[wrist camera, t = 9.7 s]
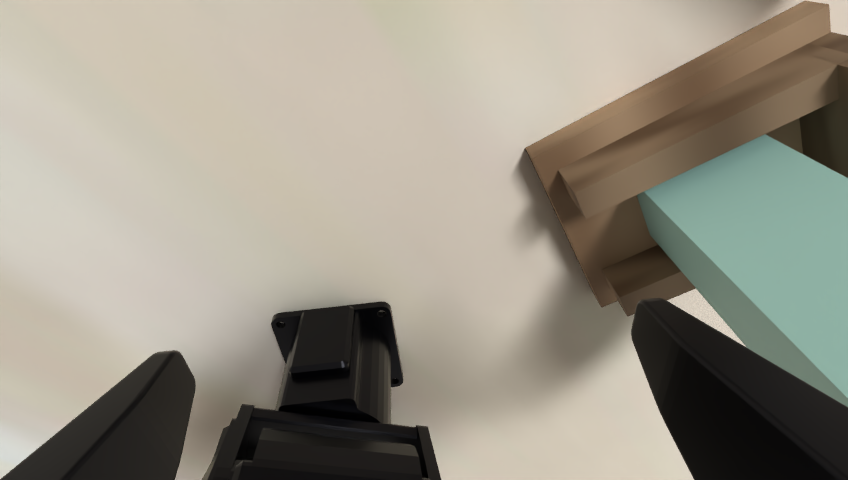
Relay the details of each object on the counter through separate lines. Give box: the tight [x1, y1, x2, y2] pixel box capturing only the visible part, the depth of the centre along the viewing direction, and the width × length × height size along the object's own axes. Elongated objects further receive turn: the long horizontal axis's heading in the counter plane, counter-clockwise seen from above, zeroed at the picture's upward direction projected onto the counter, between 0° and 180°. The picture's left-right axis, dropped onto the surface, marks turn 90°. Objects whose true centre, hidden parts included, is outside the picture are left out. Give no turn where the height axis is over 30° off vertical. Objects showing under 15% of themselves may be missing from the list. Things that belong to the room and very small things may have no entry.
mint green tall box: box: [637, 134, 848, 407], centre depth 16 cm, size 6×4×12 cm, turn 119°
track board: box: [526, 1, 848, 316], centre depth 20 cm, size 12×10×4 cm
